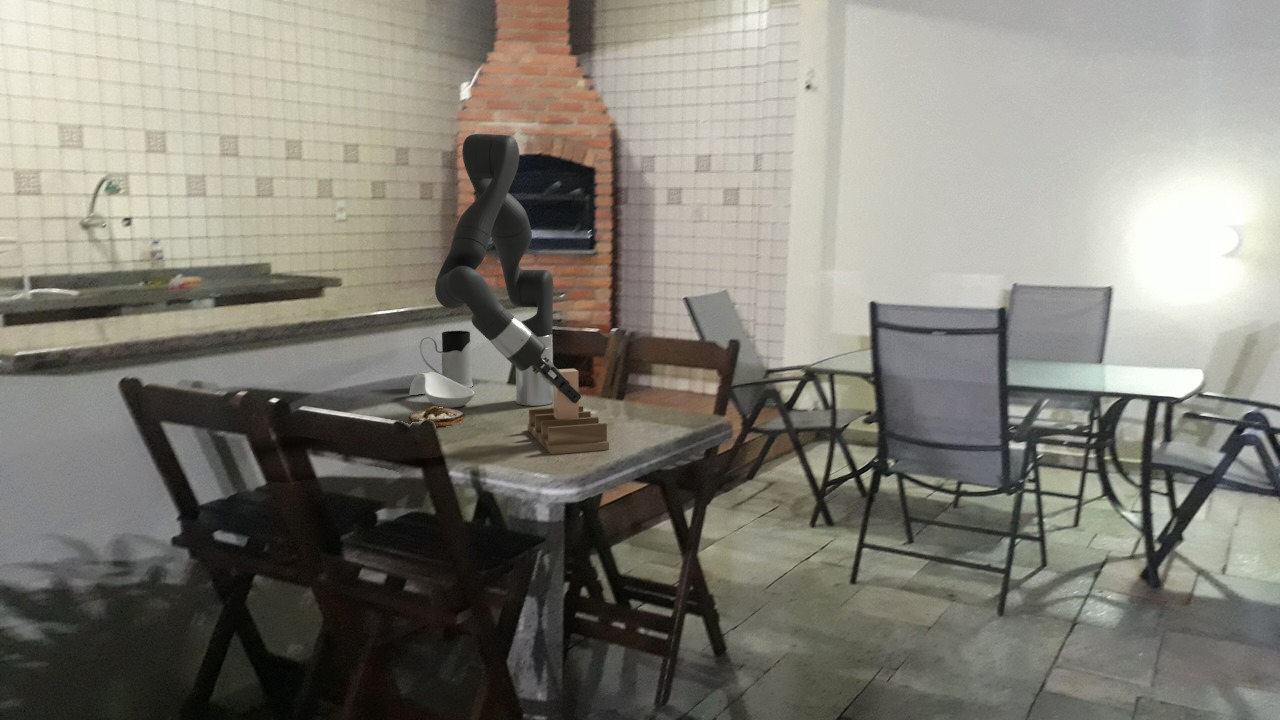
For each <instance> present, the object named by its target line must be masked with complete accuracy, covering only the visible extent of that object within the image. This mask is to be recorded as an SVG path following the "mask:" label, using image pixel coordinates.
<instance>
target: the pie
mask: <svg viewBox="0 0 1280 720" xmlns="http://www.w3.org/2000/svg"><path fill="white" fill-rule="evenodd" d="M465 418H466V415H465V413H463V412H462V411H460V410H458V409H455V408H439V407H437V406H435V405H432V406H430V407H428V408H427V409H423V410H415V411H412V412H410V413H409V415H408V421H409V424H410V423H412V422H419V421H422V420H424V419H429V420H431V421H433V422H434V423H435V425H436V427H437V428H438V427H441V428H442V427H443V428H447V427H446V426H451V427H453V426H452V425H454V426H456V424H457V425H459V424H458V423H460V424H462V423H463V421H464V420H465ZM438 429H439V428H438Z"/></svg>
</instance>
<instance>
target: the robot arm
mask: <svg viewBox="0 0 1280 720" xmlns="http://www.w3.org/2000/svg"><path fill="white" fill-rule="evenodd" d="M461 149H462V154H461V155H462V161H463V164H464V168H465V170H466V174H467V176H468V178H469V181H470V183H471V184H472V187H473V189H474V191H475V193H476V195H477V199H475V201H473V202H472V203H471V204H470V205H469V206H468V207H467V208H466V210H465V211H464V212H463V213H462V215H461V216H460V217H459V220H458V222H457V224H456V226H455V231H454V235H453V238H452V242H451V245H450V248H449V249H450V250H449V252H448V254H447V256H446V258H445V260H444V262H443V264H442V266H441V268H440V271H439V273H438V274H437V275H438V276H437V277H436V280H435V285H434V293H435V297H436V300H437V301H438V302H439V304H440V306H442V307H444V308H447V309H452V310H453V309H458V308H460V307H462V306H464V305H466V306H467V307H468V309H469V310H470V311H471V312H472V316H471V323H472V325H473V327H474V328H475V329H476V330H477V331H478V332H480V333H481V335H483V336H484V338H486V339H487V341H489V342H490V343H491V344H492V345H493V347H494V348H495V349H496V350H497V351H498V353H500V354H501V355H502V356H503V357H504V358H505V359H506V360H508V361H509V362H510V363H511V365H513V366H514V367H515V387H516V388H515V391H516V392H515V394H516V395H515V396H516V399H515V400H516V404H518V405H520V406H521V405H522V406H534V407H535V406H536V407H537V406H545V405H550V404H554V396H553V386H555V387H556V388H557V389H558V390H559V392H562V393H563V394H564V395H565V396H566V397H567V398H569V399H570V400H571V401H572V402H573V403H577V401H578V400H580V399H581V398H582V395H581V394H580V392H579V393H578V392H577V391H576V390H575V389H574V388H573V387H572V386H570V383H569V381H568V380H566V379H565V378H564V377H563V374H562V373H561V372H560V371H559V370H558V368H557V367H556V366H555V365H554V360H553V359H554V351H553V345H554V344H553V324H554V323H553V320H554V319H553V317H554V316H553V315H554V314H553V311H554V310H553V307H554V280H553V279H554V278H553V275H552V273H551V272H550V271H549V270H547V269H546V270H545V269H522V268H521V267H520V266H519V264H520V262H521V261H522V258H523V257H524V255H525V254H526V252H527V250H528V249H529V247H530V244H531V241H532V238H533V232H532V227H531V225H530V220H529V216H528V214H527V212H526V210H525V208H524V206H523V205H522V204H521V203H520V202H519V201H518V200H517V199H516V197H514V196H513V195H512V194H511V193H509V191H510V188H511V186H512V183H513V182H514V179H515V177H516V174H517V171H518V168H519V164H520V163H519V162H520V148H519V145H518V142H517V140H516V139H515V138H514V136H511V135H506V134H496V133H493V134H492V133H491V134H490V133H473V134H470V135H468V136H467V137H465V138H464V140H463V143H462V148H461ZM490 239H491V240H492V242H493V245H494V247H495V249H496V253H497V256H498V258H499V261H500V265H501V266H500V267H501V269H502V274H503V278H504V279H503V280H504V284H505V288H506V291H507V296H508V299H509V301H510V303H511V304H512V305H513V306H515V307H519V308H537V310H536V313H535V314H534V315H533V316H532V317H530V318H527V319H523V320H522V321H521V320H520V319H518V318H517V317H516V316H515V315H513V314H512V312H510V311H509V310H508V309H507V308H506V307H505V306H504V305H503V304H501V302H499V300H498V298H497V297H496V294H495V293H494V291H493V290H492V288H491V287H490V285H489V284H488V282H487V281H486V280H485V278H484V277H483V276H482V275H481V274H480V273H479V272H478V271H476V270H477V268H479V266H481V264H482V263H483V262H484V259H485V257H486V253H487V249H488V247H489V242H490ZM561 380H563V381H564V382H563V383H562V384H561V385H560V386H558V384H559V382H560V381H561Z"/></svg>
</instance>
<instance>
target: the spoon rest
mask: <svg viewBox="0 0 1280 720" xmlns="http://www.w3.org/2000/svg"><path fill="white" fill-rule="evenodd" d="M440 374H441V373H440ZM440 374H438V373H436V372H435V371H428V372H420V373H419V372H418V374H416V375H415V376H414V378H413V379H412V381H411V384H410V387H409V396H410V395H418V394H424V393H425V396H426V398H427V399H428V401H429V402H430V403H431V404H432V405H433V406H436V407H443V408H450V409H455V407H457V408H461V407H463V406H465V405H467V404H468V403H470V402H471V401H472V399H473V398H474V397H475V391H474V390H473V389H471V388H467V387H465V386H463V385H461V384H459V383H457V382H454V381H452V380H450V379H448V378H446V377H444V376H443V374H441V375H440Z"/></svg>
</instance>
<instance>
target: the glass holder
mask: <svg viewBox="0 0 1280 720" xmlns="http://www.w3.org/2000/svg"><path fill="white" fill-rule="evenodd" d="M427 339H430V340H431V341H433V343H434V349H435V351H436V353H439V354H441V365H442V366H441V367H442V368H441V369H442V372H441V373H442V374H441V373H440V372H439V371H438V370H437V369H435V368H434V367H433V366H431V365H430V363H428V362H427V361H428V360H426V358H425V355H424V354H423V348H422V345H423V344H422V343H423V341H424V340H427ZM441 344H442V345H441V348H442V351H439V350H438V348H437V342H436V340H435V339H434V338H433V337H431V336H426V337H424V338H422V339H421V341H420V343H419V350H420V355H421V357H422V359H423V362H424V363H425V365H426V366H427V367H429V368H430V370H432V371H433V372H436V373H438V374H440V375H442V376H444V377H446V378H448V379H450V380H452V381H454V382H457V383H459V384H461V385H463V386H465V387H472V386H473V385H474V383H473V374H472V373H473V371H472V369H473V368H472V340H471V332H470V331H468V330H448V331H447V330H446V331H443V332H441ZM472 388H473V387H472Z"/></svg>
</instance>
